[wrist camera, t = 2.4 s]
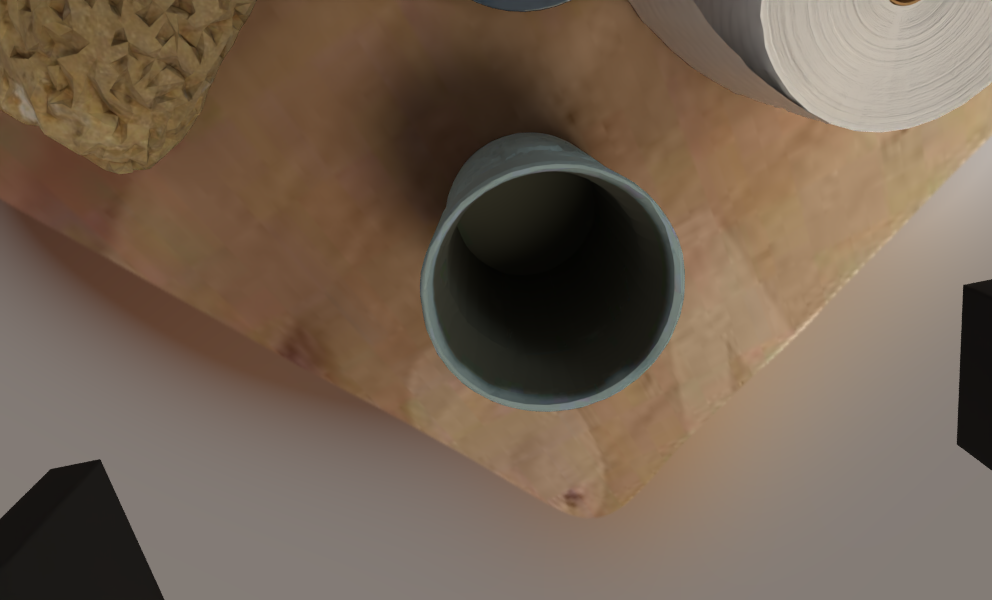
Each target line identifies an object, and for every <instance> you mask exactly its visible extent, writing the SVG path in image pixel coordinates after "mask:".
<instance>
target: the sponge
mask: <svg viewBox="0 0 992 600" xmlns="http://www.w3.org/2000/svg"><path fill="white" fill-rule="evenodd" d="M255 2H256V0H0V109H1V110H2V111H4V112H5V113H7V114H8V115H10V116H11V117H13V118H15V119H17V120H19V121H20V122H22V123H23V124H28V125H35V126H39V127H40V129H41V130H42V131H43V133H44V134H45V135H46V136H48V137H50V138H52V139H53V140H55V141H57V142H59V143H60V144H62V145H64V146H65V147H67V148H69V149H70V150H72V151H74V152H75V153H77V154H79V155H82V156H84V157H85V158H87V159H88V160H90V161H91V162H93V163H95V164H96V165H98V166H99V167H101V168H102V169H104V170H106V171H110V172H114V173H117V174H125V173H132V172H133V170H146V169H150V168H151V167H152V166H154V165H155V164H156V163H157V162H158V161H159V160H160V159H162V158H163V157H164V156H165V155H166V154H167V153H168V152H169V151H170V150H171V149H172V148H174V147H175V146H176V145H177V144H178V143H179V142H181V141H182V139H183V138H184V136H185V135H186V134H187V132H188V131H189V130H190V128H191V127H192V125H193V124H194V122H195V120H196V119H197V117H198V115H199V114H200V112H201V111H202V109H203V106H204V102H205V99H206V95H207V92H208V90H209V88H210V86H211V84H212V82H213V80H214V78H215V76H216V73H217V71H218V68H219V66H220V64H221V62H222V60H223V59H224V57H225V56H226V54H227V53H228V52H229V50H230V49H231V47H232V46H233V44H234V42H235V39H236V37H237V35H238V32H239V30H240V29H241V28H242V26H243V25H244V23H245V21H246V20H247V18H248V17H249V15H250V13H251V11H252V9H253V7H254V4H255Z"/></svg>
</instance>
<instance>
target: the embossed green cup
mask: <svg viewBox="0 0 992 600" xmlns="http://www.w3.org/2000/svg"><path fill="white" fill-rule="evenodd" d="M684 285H685V270H684V261H683V254H682V250H681V247H680V243H679V240H678V237H677V235H676V233H675V231H674V229H673V227H672V225H671V223H670V222H669V220H668V219H667V217H666V216H665V214H664V213H663V211H662V210H661V208H660V207H659V206H658V205H657V203H656V202H655V201H654V200H653V199H652V198H651V197H650V196H649V195H648V194H647V193H646V192H645V191H644V190H642V189H641V188H640V187H639V186H638V185H636V184H635V183H634V182H632V181H630V180H629V179H627V178H625V177H623V176H622V175H620V174H618V173H616V172H614V171H612V170H610V169H609V168H607V167H605V166H603V165H602V164H601V163H600V162H598V161H597V160H595V159H594V158H592V157H591V156H589V155H588V154H586V153H585V152H583V151H581V150H580V149H579V148H577V147H576V146H574V145H572V144H571V143H569V142H568V141H565V140H563V139H561V138H558V137H556V136H552V135H549V134H543V133H535V132H531V133H516V134H512V135H508V136H504V137H501V138H499V139H496V140H494V141H491V142H490V143H488V144H487V145H485V146H484V147H482V148H480V149H479V150H478V151H476V152H475V153H474V154H473V155H472V156H471V157H470V158H469V159H468V160H467V161H466V163H465V164H464V165H463V166H462V168H461V169H460V171H459V173H458V174H457V176H456V178H455V180H454V182H453V185H452V187H451V190H450V192H449V195H448V199H447V206H446V209H445V210H444V211H443V213H442V216H441V218H440V221H439V223H438V225H437V228H436V231H435V233H434V235H433V238H432V240H431V243H430V245H429V247H428V250H427V252H426V255H425V259H424V262H423V266H422V270H421V279H420V297H421V304H422V310H423V316H424V321H425V325H426V329H427V332H428V334H429V336H430V338H431V341H432V343H433V345H434V347H435V349H436V352H437V354H438V355H439V357H440V358H441V359H442V361H443V362H444V363H445V365H446V366H447V367H448V369H449V370H450V371H451V372H452V373H453V374H454V375H455V376H456V377H457V378H458V379H459V380H460V381H461V382H462V383H463V384H465V385H466V386H467V387H469V388H470V389H471V390H473V391H474V392H476V393H478V394H480V395H482V396H484V397H485V398H487V399H489V400H491V401H494V402H496V403H499V404H502V405H505V406H508V407H512V408H517V409H522V410H529V411H543V412H550V411H562V410H570V409H576V408H581V407H584V406H587V405H590V404H592V403H595V402H598V401H601V400H604V399H606V398H608V397H610V396H612V395H614V394H616V393H618V392H619V391H621V390H623V389H624V388H625V387H627V386H628V385H630V384H631V383H632V382H634V381H635V380H637V379H638V378H639V377H640V376H641V375H642V374H643V373H644V372H645V371H646V370H647V369H648V368H649V367H650V366H651V365H652V364H653V363H654V362H655V361H656V359H657V358H658V357H659V355H660V354H661V353H662V351H663V350H664V348H665V347H666V345H667V344H668V342H669V340H670V338H671V336H672V334H673V331H674V329H675V327H676V324H677V322H678V319H679V317H680V314H681V309H682V305H683V300H684Z"/></svg>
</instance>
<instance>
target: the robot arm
mask: <svg viewBox="0 0 992 600" xmlns="http://www.w3.org/2000/svg"><path fill="white" fill-rule="evenodd" d="M962 307H963V308H962V331H961V332H962V333H961V354H960V379H959V380H960V382H959V404H958V429H957V445H959V446H960V447H961V448H963V449H964V450H965V451H967V452H968V453H969V454H971V455H972V456H973V457H975V458H976V459H977V460H979V461H980V462H981V463H983V464H984V465H985V466H987V467H988V468H989V469H990V470H992V279H991V280H987V281H981V282H976V283H971V284H967V285H963V305H962ZM0 600H164V598H163V596H162V594H161V591H160V589H159V587H158V585H157V582H156V580H155V579H154V576H153V574H152V572H151V569H150V567H149V565H148V563H147V561H146V558H145V556H144V554H143V552H142V550H141V547H140V545H139V543H138V541H137V539H136V537H135V534H134V532H133V530H132V528H131V526H130V523H129V521H128V519H127V517H126V515H125V512H124V510H123V508H122V506H121V504H120V502H119V499H118V497H117V495H116V493H115V491H114V489H113V486H112V484H111V482H110V480H109V478H108V475H107V473H106V471H105V469H104V467H103V464H102V462H101V460H100V459H99V460H94V461H89V462H84V463H79V464H74V465H69V466H64V467H59V468H54V469H50V470H49V471H48V472H47V473H46V474H45V475H44V476H43V477H42V478H41V479H40V480H39V481H38V482H37V483H36V484H35V485H34V486H33V487H32V488H31V489H30V490H29V491H28V492H27V493H26V494H25V495H24V496H23V497H22V498H21V499H20V500H19V501H18V502H17V503H16V504H15V505H14V506H13V507H12V508H11V509H10V510H9V511H8V512H7V513H6V514H5V515H4V516H3V517H2V518H1V519H0Z"/></svg>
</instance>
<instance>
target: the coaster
mask: <svg viewBox="0 0 992 600" xmlns="http://www.w3.org/2000/svg"><path fill="white" fill-rule="evenodd" d="M472 1H474V2H476V3H479V4H482V5H485V6H488V7H491V8H495V9H500V10H505V11H518V12H527V11H538V10H543V9H548V8H552V7H556V6H558V5H561V4H563V3H566V2H569V1H571V0H472Z"/></svg>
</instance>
